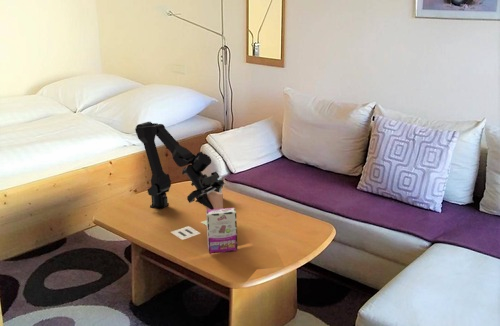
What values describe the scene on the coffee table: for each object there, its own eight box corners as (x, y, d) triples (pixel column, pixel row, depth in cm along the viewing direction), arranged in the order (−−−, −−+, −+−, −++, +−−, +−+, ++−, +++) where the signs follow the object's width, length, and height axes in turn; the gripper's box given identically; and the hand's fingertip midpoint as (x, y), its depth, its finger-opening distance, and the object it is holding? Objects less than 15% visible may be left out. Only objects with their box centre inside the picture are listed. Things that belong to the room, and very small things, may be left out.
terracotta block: (206, 220, 233) (206, 194, 229) (214, 216, 237) (213, 191, 233) (215, 223, 230) (215, 197, 226) (223, 219, 234) (222, 193, 230)
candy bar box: (235, 245, 216) (234, 207, 210) (237, 251, 211) (237, 212, 206) (207, 247, 214) (205, 209, 208) (208, 254, 209) (207, 214, 204)
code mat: (184, 244, 216) (184, 243, 216) (164, 232, 227) (164, 230, 226) (236, 226, 232) (236, 224, 231) (214, 215, 243) (214, 213, 242)
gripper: (191, 173, 221) (212, 205, 218) (220, 161, 235) (241, 191, 232) (178, 187, 228) (198, 218, 225) (207, 174, 242) (227, 203, 239)
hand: (217, 207), depth 230 cm, fingers closed on terracotta block, 5 cm apart
